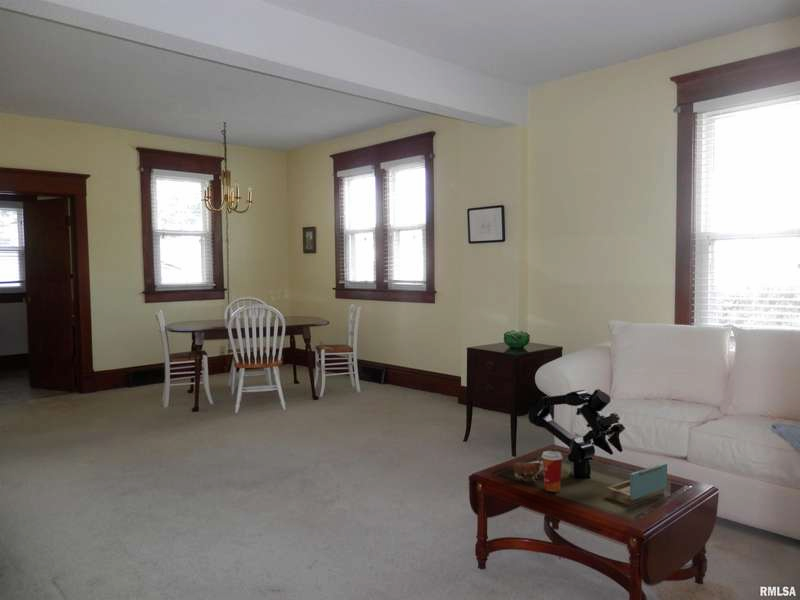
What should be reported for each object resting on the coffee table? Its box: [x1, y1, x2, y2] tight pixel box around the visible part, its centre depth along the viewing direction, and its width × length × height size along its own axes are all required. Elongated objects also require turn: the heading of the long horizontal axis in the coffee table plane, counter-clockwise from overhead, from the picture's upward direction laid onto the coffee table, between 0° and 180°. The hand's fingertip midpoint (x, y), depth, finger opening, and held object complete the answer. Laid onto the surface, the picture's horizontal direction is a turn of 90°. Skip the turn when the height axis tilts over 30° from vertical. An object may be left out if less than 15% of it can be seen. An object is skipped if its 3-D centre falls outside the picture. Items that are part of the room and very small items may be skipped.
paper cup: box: [541, 450, 563, 491], centre depth 229 cm, size 8×8×14 cm
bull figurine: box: [512, 460, 543, 480], centre depth 240 cm, size 4×13×8 cm, turn 78°
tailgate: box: [629, 462, 668, 500], centre depth 217 cm, size 1×20×9 cm, turn 123°
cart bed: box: [605, 479, 665, 506], centre depth 223 cm, size 10×20×4 cm, turn 123°
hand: (617, 452), depth 229 cm, fingers open, 5 cm apart
